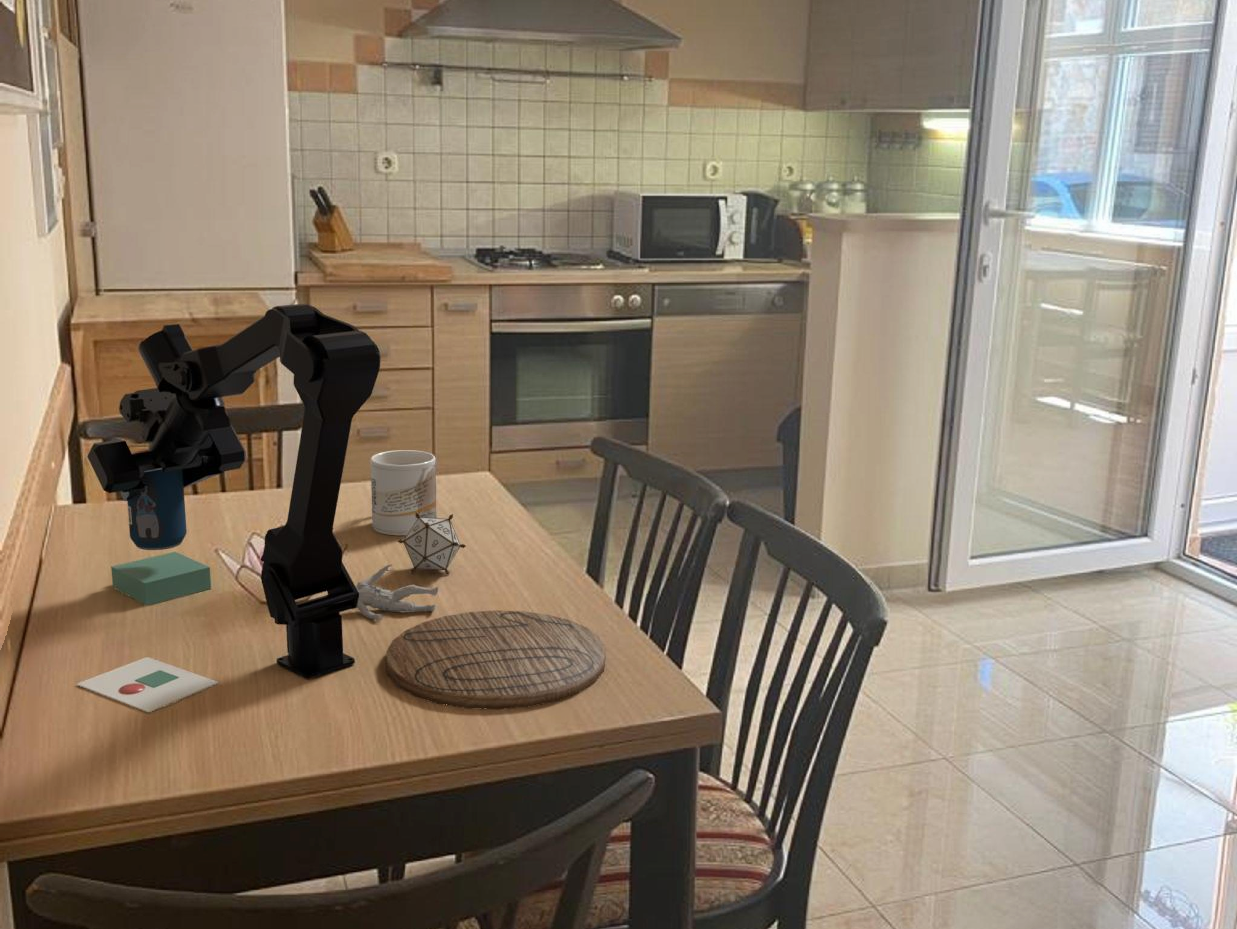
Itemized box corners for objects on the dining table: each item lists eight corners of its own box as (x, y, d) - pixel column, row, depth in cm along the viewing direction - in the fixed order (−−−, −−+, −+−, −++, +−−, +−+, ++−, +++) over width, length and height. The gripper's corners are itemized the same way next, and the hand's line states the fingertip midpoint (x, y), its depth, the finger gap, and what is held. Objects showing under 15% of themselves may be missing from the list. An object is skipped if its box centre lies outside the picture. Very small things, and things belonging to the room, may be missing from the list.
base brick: (211, 588, 165) (209, 567, 165) (146, 605, 159) (144, 583, 158) (172, 570, 172) (170, 549, 171) (108, 585, 166) (106, 564, 165)
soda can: (180, 533, 168) (175, 446, 165) (192, 547, 162) (186, 457, 159) (126, 540, 164) (119, 451, 162) (136, 554, 159) (129, 462, 156)
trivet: (369, 638, 151) (368, 623, 151) (566, 615, 160) (566, 601, 159) (411, 726, 128) (410, 709, 128) (637, 694, 137) (638, 678, 137)
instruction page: (218, 683, 137) (218, 681, 136) (148, 713, 129) (148, 710, 129) (147, 658, 143) (147, 656, 143) (76, 685, 135) (76, 682, 135)
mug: (356, 531, 191) (354, 461, 188) (392, 510, 202) (391, 444, 199) (419, 539, 188) (418, 467, 185) (452, 517, 199) (451, 449, 197)
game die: (444, 592, 177) (484, 534, 177) (429, 591, 168) (472, 530, 169) (393, 556, 178) (434, 498, 178) (377, 553, 169) (419, 492, 170)
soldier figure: (432, 629, 156) (337, 606, 153) (422, 643, 160) (329, 621, 157) (442, 574, 160) (349, 550, 157) (432, 589, 164) (342, 566, 161)
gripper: (228, 362, 162) (190, 432, 172) (87, 379, 148) (54, 454, 158) (266, 430, 159) (225, 498, 168) (124, 454, 145) (89, 526, 155)
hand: (150, 492), depth 163 cm, fingers closed on soda can, 7 cm apart
